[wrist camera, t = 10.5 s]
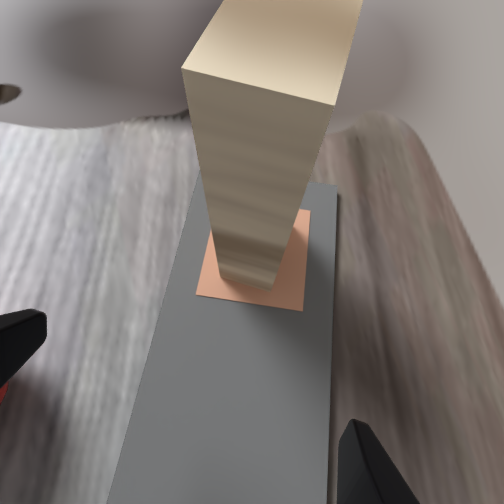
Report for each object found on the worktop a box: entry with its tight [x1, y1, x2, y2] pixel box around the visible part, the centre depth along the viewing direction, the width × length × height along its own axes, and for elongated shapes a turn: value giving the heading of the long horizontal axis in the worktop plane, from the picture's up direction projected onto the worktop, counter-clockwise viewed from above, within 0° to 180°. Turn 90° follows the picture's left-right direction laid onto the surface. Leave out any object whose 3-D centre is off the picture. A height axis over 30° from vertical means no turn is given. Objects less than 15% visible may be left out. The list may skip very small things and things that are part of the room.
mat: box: [107, 170, 337, 504], centre depth 17 cm, size 22×10×1 cm, turn 172°
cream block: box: [181, 0, 363, 292], centre depth 13 cm, size 5×3×13 cm, turn 163°
